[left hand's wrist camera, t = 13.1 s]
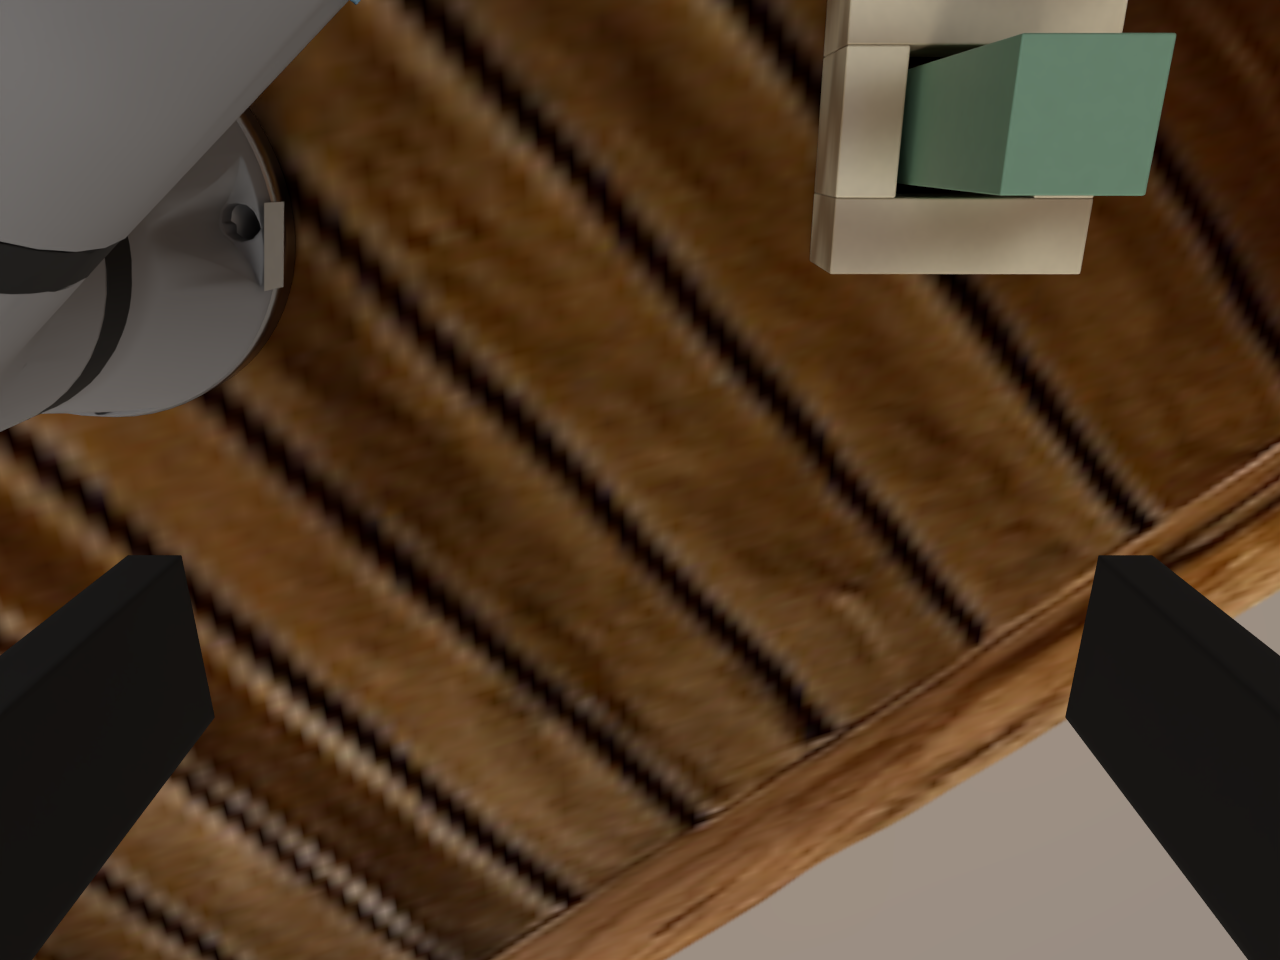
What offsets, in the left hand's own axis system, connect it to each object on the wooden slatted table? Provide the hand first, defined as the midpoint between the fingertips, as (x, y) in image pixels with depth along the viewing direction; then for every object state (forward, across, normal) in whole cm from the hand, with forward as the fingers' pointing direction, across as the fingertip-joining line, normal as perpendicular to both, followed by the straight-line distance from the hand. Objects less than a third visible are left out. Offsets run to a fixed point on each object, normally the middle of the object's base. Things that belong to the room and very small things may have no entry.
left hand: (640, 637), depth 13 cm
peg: (+25, +11, +8) cm, 28 cm away
